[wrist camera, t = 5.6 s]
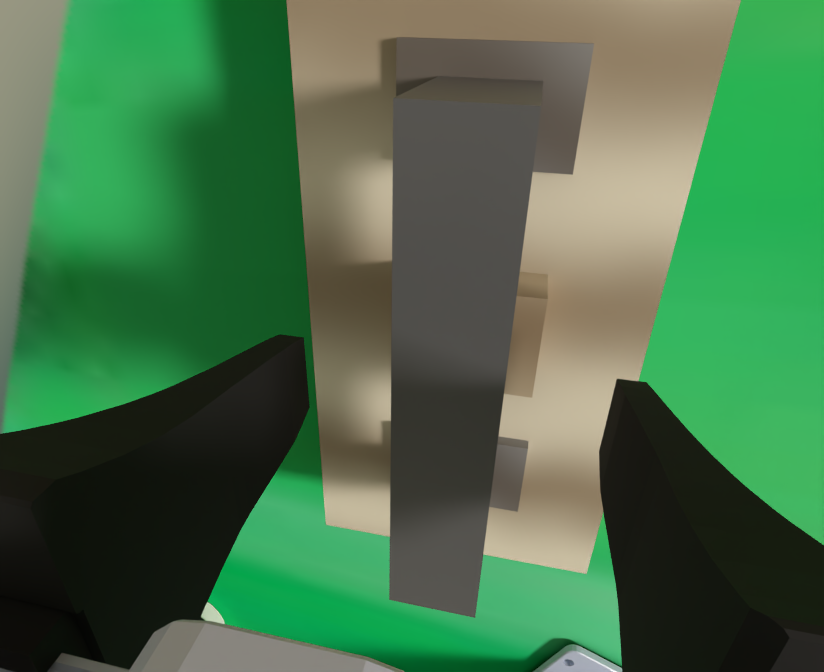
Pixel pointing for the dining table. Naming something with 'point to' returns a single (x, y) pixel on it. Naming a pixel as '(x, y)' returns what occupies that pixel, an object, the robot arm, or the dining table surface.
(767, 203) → the dining table surface
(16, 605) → the robot arm
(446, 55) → the display stand
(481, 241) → the grey long bar
